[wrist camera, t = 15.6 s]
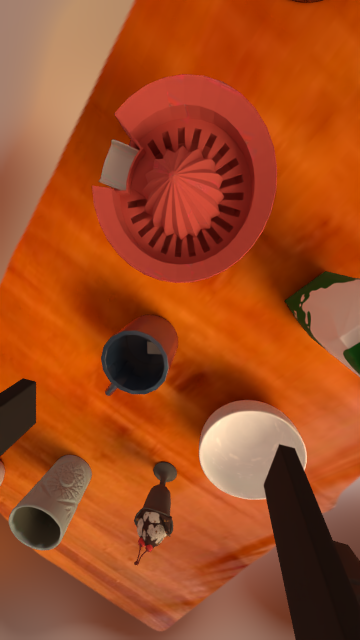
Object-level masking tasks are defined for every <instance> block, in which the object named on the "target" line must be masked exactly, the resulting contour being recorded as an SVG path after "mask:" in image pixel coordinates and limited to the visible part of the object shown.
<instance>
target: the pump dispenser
mask: <svg viewBox="0 0 360 640" xmlns="http://www.w3.org/2000/svg"><path fill="white" fill-rule="evenodd" d="M4 475H5V469H4V466H3V464H2V462H1V461H0V485H1V484H2V481H3V479H4Z"/></svg>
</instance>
